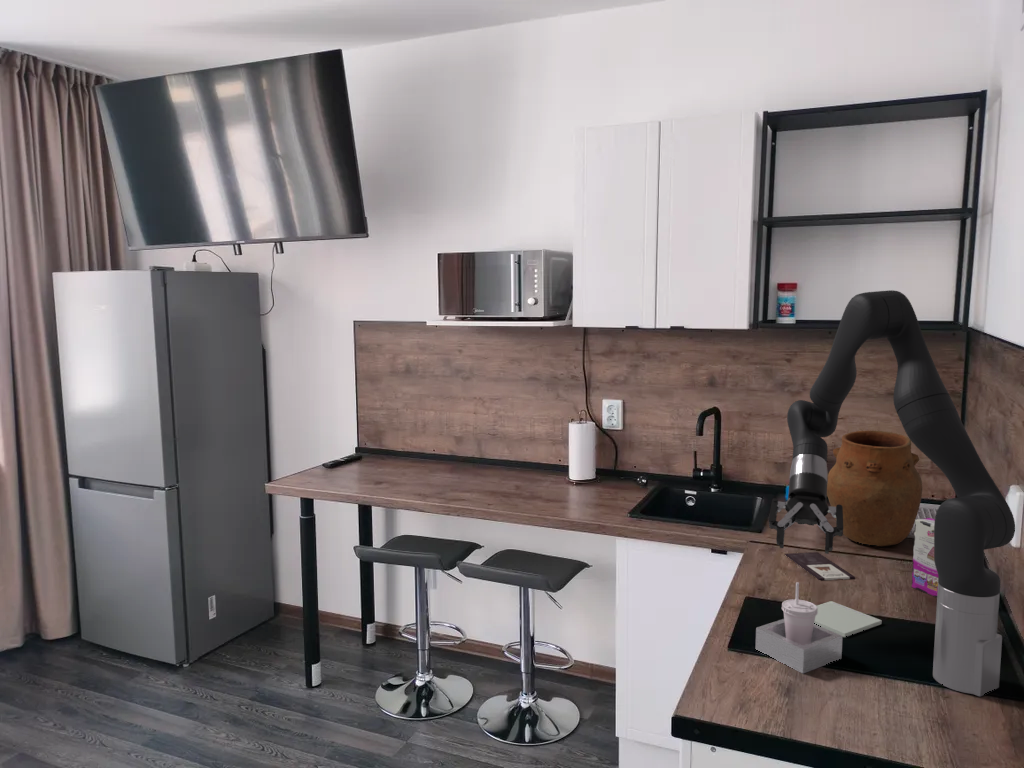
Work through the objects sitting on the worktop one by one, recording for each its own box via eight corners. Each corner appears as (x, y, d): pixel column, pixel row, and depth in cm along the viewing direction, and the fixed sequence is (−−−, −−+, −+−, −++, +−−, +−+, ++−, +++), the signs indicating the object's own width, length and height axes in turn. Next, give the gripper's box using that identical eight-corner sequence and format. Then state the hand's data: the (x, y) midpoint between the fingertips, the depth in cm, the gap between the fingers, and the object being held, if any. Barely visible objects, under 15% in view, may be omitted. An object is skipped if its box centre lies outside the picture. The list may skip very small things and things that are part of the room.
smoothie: (787, 643, 150) (789, 574, 148) (820, 653, 146) (823, 582, 144) (774, 655, 145) (777, 584, 143) (809, 665, 141) (812, 592, 139)
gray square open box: (841, 658, 143) (842, 635, 143) (802, 673, 138) (803, 649, 137) (793, 637, 153) (794, 615, 152) (755, 650, 147) (756, 627, 147)
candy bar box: (969, 601, 170) (973, 529, 168) (952, 604, 168) (956, 532, 166) (925, 584, 180) (929, 516, 179) (910, 587, 179) (913, 518, 177)
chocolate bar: (817, 552, 202) (855, 576, 184) (817, 555, 202) (854, 580, 184) (784, 553, 201) (819, 578, 183) (784, 557, 201) (819, 582, 183)
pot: (819, 546, 208) (823, 437, 205) (828, 523, 229) (832, 424, 226) (919, 560, 197) (925, 445, 193) (918, 534, 218) (924, 430, 215)
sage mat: (881, 624, 159) (881, 620, 158) (844, 637, 152) (844, 633, 152) (831, 604, 169) (831, 600, 169) (794, 616, 163) (794, 612, 163)
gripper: (772, 468, 163) (765, 536, 153) (845, 473, 157) (843, 544, 148) (773, 487, 168) (767, 553, 159) (844, 493, 163) (841, 562, 153)
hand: (803, 549), depth 153 cm, fingers open, 8 cm apart
